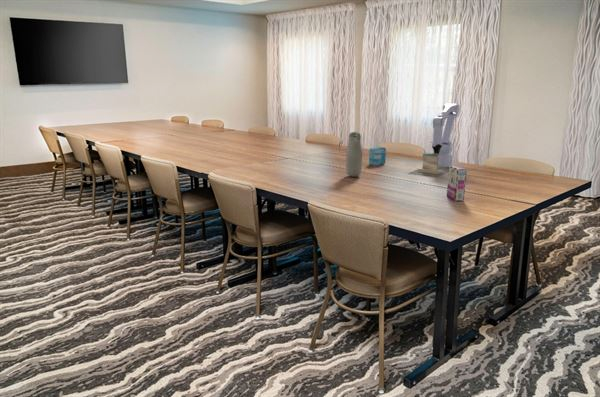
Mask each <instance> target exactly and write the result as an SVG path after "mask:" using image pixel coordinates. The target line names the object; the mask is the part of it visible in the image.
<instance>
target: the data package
mask: <svg viewBox="0 0 600 397" xmlns="http://www.w3.org/2000/svg"><path fill="white" fill-rule="evenodd" d="M386 151H387V149H386V147H382V146H378V147H377V146H376V147H371V148H369V153H368V154H369V156H368V165H370V166H381V165H385V163H386V155H387V154H386V153H387V152H386Z"/></svg>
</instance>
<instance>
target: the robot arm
mask: <svg viewBox="0 0 600 397" xmlns="http://www.w3.org/2000/svg"><path fill="white" fill-rule="evenodd" d="M459 113H460V104H459V103H447V102H446V103H443V106H442V111H440V112H439V113H438V115H436V116H435V117H433V118H432V129H433V130H432V131H433V132H432V133H433V134H432V141H431V142H430V143H431V148H432V150H433V153H438V154H439V162H438V168H449V166H453V154H452V151H453V142H452V141H451V140H450V139H451V134H452V131H453V130H452V129H453V126H454V122H455V119H456V118H457V117H458V115H459ZM444 126H445V127H444ZM443 129H444V131H443Z"/></svg>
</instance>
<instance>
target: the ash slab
mask: <svg viewBox="0 0 600 397" xmlns="http://www.w3.org/2000/svg"><path fill="white" fill-rule="evenodd" d="M438 162H439V154H438V153H434V152H423V153H422V168H421V169H430V170H439V167H438Z"/></svg>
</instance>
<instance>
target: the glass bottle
mask: <svg viewBox="0 0 600 397" xmlns="http://www.w3.org/2000/svg"><path fill="white" fill-rule="evenodd" d="M361 139H362V135H361V133H360V132H358V131H353V132H350V133H349V135H348V142H347V147H346V152H345V172H346V174H347V176H348V177H352V178H355V177H356V178H357V177H359V176H360V175H361V173H362V169H363V154H364V152H363V147H362V142H361Z"/></svg>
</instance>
